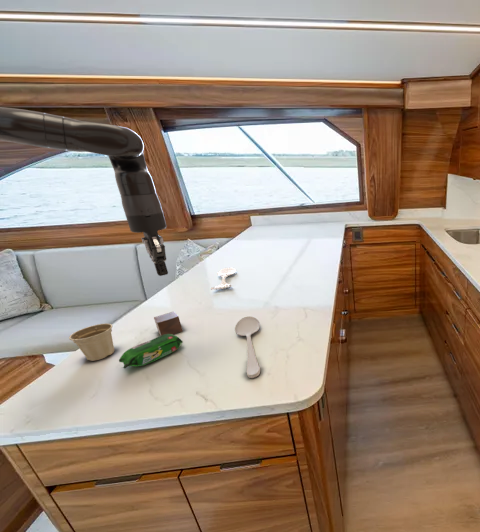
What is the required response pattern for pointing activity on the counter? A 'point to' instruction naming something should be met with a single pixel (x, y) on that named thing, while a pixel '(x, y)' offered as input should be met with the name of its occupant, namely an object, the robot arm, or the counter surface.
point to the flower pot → (94, 341)
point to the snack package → (151, 350)
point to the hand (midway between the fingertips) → (163, 274)
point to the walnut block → (168, 323)
